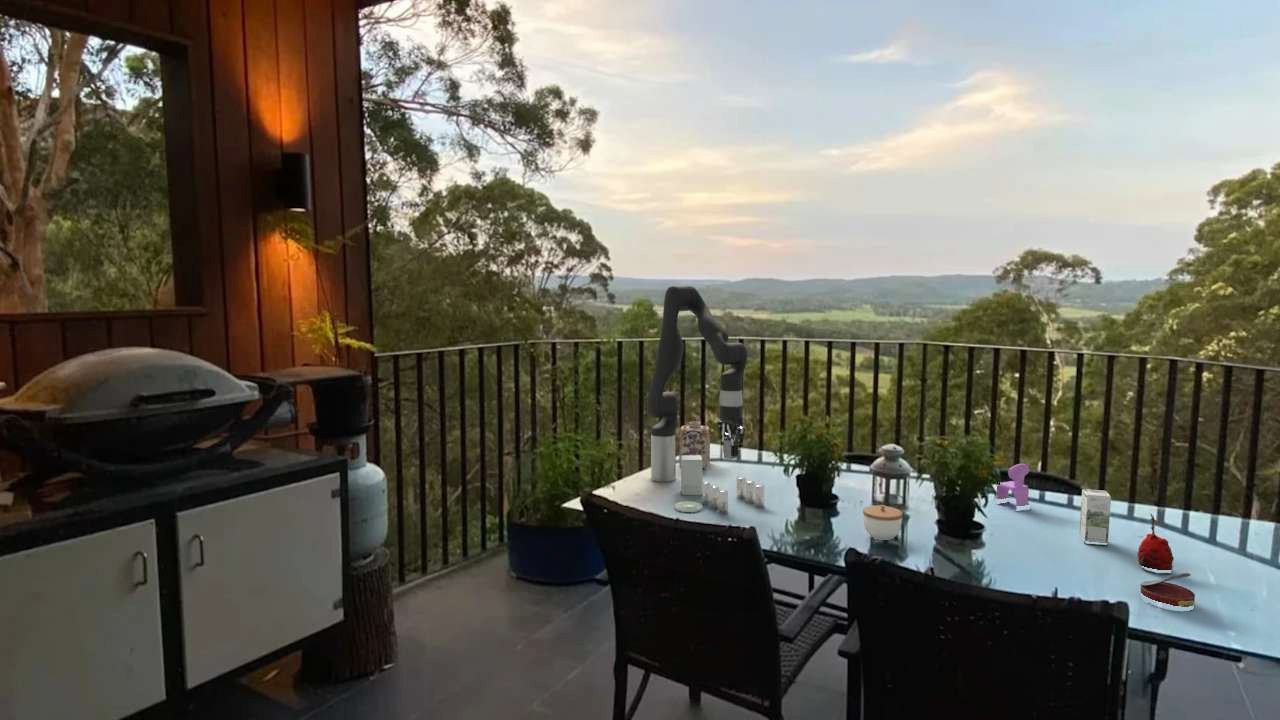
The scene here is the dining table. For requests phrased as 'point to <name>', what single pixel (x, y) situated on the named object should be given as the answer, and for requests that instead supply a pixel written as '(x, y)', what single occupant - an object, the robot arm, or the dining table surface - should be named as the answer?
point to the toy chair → (1015, 485)
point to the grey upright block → (728, 449)
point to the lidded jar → (882, 521)
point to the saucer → (688, 506)
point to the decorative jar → (695, 442)
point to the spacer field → (721, 496)
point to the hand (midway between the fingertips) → (730, 454)
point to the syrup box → (1095, 515)
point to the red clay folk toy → (1155, 551)
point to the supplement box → (691, 474)
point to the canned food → (1168, 592)
